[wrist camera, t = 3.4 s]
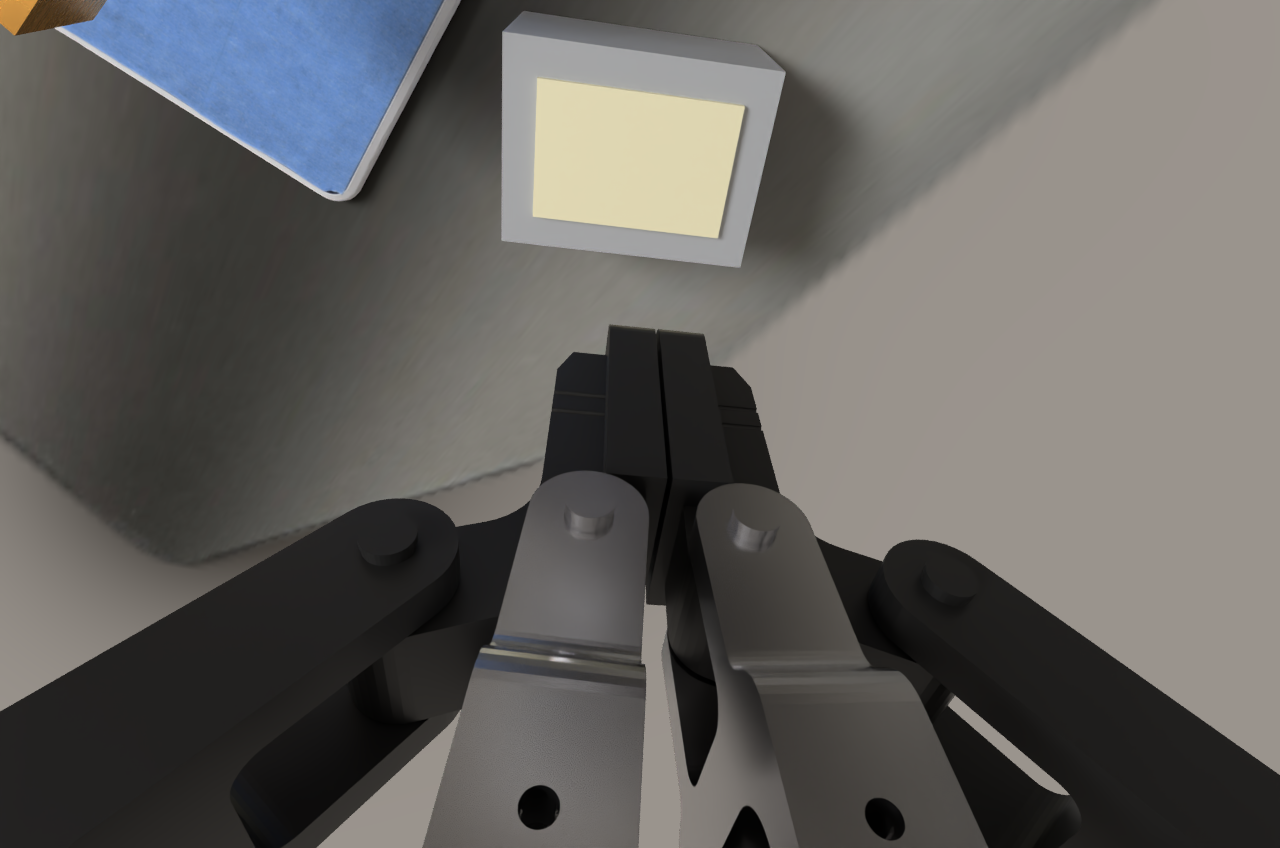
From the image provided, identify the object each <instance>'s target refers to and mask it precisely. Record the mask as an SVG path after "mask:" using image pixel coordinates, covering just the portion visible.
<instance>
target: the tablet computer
mask: <svg viewBox="0 0 1280 848" xmlns="http://www.w3.org/2000/svg"><path fill="white" fill-rule="evenodd" d="M460 1H461V0H107V1H106V2H105V4H104V5H103V7H102V8H101V10H100V11H99V12H98V14H97V15H96V17H95V18H94V20H91V21H86V22H81V23H76V24H71V25H66V26H61V27H56V28H55V29H57V30H58V31H60V32H61V33H63V34H65V35H67V36H68V37H70V38H71V39H73V40H75V41H76V42H78V43H80V44H81V45H82V46H84V47H85V48H87V49H89V50H91V51H92V52H94V53H95V54H97V55H99V56H100V57H102V58H103V59H105V60H106V61H108V62H110V63H111V64H113V65H114V66H116V67H118V68H119V69H121V70H123V71H124V72H126V73H127V74H129V75H130V76H132V77H134V78H135V79H137V80H138V81H140V82H141V83H143V84H145V85H146V86H148V87H150V88H151V89H153V90H155V91H156V92H158V93H159V94H161V95H162V96H164V97H166V98H167V99H169V100H170V101H172V102H174V103H175V104H177V105H179V106H180V107H182V108H183V109H185V110H186V111H188V112H190V113H191V114H193V115H194V116H196V117H198V118H199V119H201V120H202V121H204V122H206V123H207V124H209V125H210V126H212V127H214V128H215V129H217V130H218V131H220V132H222V133H223V134H225V135H226V136H228V137H229V138H231V139H233V140H234V141H236V142H237V143H239V144H241V145H242V146H244V147H245V148H247V149H248V150H250V151H252V152H253V153H255V154H256V155H258V156H260V157H261V158H263V159H264V160H266V161H267V162H269V163H271V164H272V165H274V166H275V167H277V168H279V169H280V170H282V171H283V172H285V173H286V174H288V175H290V176H291V177H293V178H294V179H296V180H298V181H299V182H301V183H302V184H304V185H306V186H307V187H309V188H310V189H312V190H314V191H315V192H317V193H318V194H320V195H322V196H323V197H325V198H327V199H330V200H334V201H345V200H350V199H352V198H353V197H355V196H356V195H357V194H358V193H359V192H360V191H361V189H362V187H363V185H364V183H365V181H366V179H367V177H368V175H369V173H370V172H371V170H372V168H373V166H374V164H375V162H376V160H377V158H378V156H379V154H380V153H381V151H382V149H383V147H384V145H385V143H386V141H387V139H388V137H389V135H390V133H391V132H392V130H393V128H394V126H395V124H396V122H397V120H398V118H399V116H400V115H401V113H402V111H403V109H404V107H405V105H406V103H407V101H408V100H409V98H410V96H411V94H412V92H413V90H414V88H415V86H416V84H417V83H418V81H419V79H420V77H421V75H422V73H423V71H424V69H425V67H426V65H427V64H428V62H429V60H430V58H431V56H432V54H433V52H434V50H435V48H436V46H437V45H438V43H439V41H440V39H441V37H442V35H443V33H444V31H445V30H446V28H447V26H448V24H449V22H450V20H451V18H452V17H453V15H454V13H455V11H456V9H457V7H458V5H459V3H460Z"/></svg>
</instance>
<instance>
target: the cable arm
mask: <svg viewBox="0 0 1280 848" xmlns="http://www.w3.org/2000/svg"><path fill="white" fill-rule="evenodd" d="M106 1H107V0H0V23H1V24H2V25H3V26H4V27H5V28H6V29H8V30H9V31H10V32H11V33H12V34H14V35H20V34H26V33H31V32H36V31H41V30H46V29H51V28H56V27H61V26H66V25H71V24H76V23H81V22H86V21H91V20H94V18H95V17H96V15H97V14H98V12H99V11H100V10H101V8H102V7H103V5H104V4H105V2H106Z"/></svg>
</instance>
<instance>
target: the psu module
mask: <svg viewBox="0 0 1280 848" xmlns="http://www.w3.org/2000/svg"><path fill="white" fill-rule="evenodd" d="M785 74H786V72H785V71H784V70H783V69H782V68H781V67H780V66H779V65H778V64H777V63H776V62H775V61H774V60H773V59H772V58H771V57H770V56H769V55H768V54H766V53H765V52H764V51H763V50H762V49H761V48H760V47H759V46H758V45H754V44H747V43H740V42H733V41H727V40H720V39H713V38H706V37H699V36H692V35H686V34H679V33H672V32H665V31H658V30H651V29H644V28H638V27H631V26H624V25H617V24H610V23H603V22H597V21H590V20H583V19H576V18H569V17H562V16H556V15H549V14H542V13H535V12H528V11H523V12H522V13H521V14H520V15H519V16H518V17H517V18H516V19H515V20H514V21H513V22H512V23H511V24H510V25H509V26H508V27H507V28H506V29H505V30H503V31H502V241H508V242H517V243H526V244H535V245H544V246H553V247H561V248H570V249H579V250H588V251H597V252H605V253H614V254H623V255H632V256H641V257H650V258H658V259H667V260H676V261H685V262H694V263H703V264H711V265H720V266H729V267H738V268H740V266H741V262H742V258H743V253H744V249H745V245H746V241H747V236H748V232H749V228H750V224H751V219H752V215H753V211H754V206H755V202H756V198H757V194H758V189H759V185H760V181H761V177H762V172H763V168H764V164H765V159H766V155H767V151H768V147H769V142H770V138H771V134H772V130H773V125H774V121H775V117H776V112H777V108H778V104H779V100H780V95H781V91H782V87H783V82H784V78H785Z"/></svg>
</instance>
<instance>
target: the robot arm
mask: <svg viewBox="0 0 1280 848" xmlns="http://www.w3.org/2000/svg"><path fill="white" fill-rule="evenodd" d="M756 409H757V408H756V404H755V401H754V397H753V394H752V390H751V387H750V386H749V385H748V384H747V383H746V381H744V379H743V378H742V377H741V376H740V375H739V374H738V373H737V372H736V370H735V369H734V368H731V367H721V366H711V365H710V362H709V357H708V351H707V346H706V341H705V337H704V334H700V333H690V332H680V331H671V330H661V329H658V330H657V333H655V329H650V328H640V327H630V326H621V325H611V324H610V325H609V330H608V337H607V346H606V354H605V355H598V354H588V353H578V352H573V353H572V354H571V355H570V356H569V357H568V358H567V359H566V361H565V362H564V363H563V364H562V365H561V366H560V367H559V368H558V369H557V376H556V383H555V390H554V397H553V404H552V412H551V418H550V425H549V432H548V439H547V447H546V454H545V461H544V468H543V475H542V480H541V484H540V487H539V488H538V489H537V490H536V491H535V493H534V494H533V495H532V498H531V500H530V501H529V502H528V503H527V504H525V506H523V507H522V508H520V509H518V510H517V511H515V512H513V513H511V514H509V515H507V516H504V517H501V518H498V519H496V520H491V521H487V522H482V523H476V524H470V525H464V526H459V527H455V524H454V523H453V521H452V520H451V519H450V517H449V516H448V515H446V514H445V513H444V512H443V511H442V510H440V509H439V508H437V507H435V506H433V505H431V504H428V503H426V502H422V501H418V500H412V499H386V500H379V501H375V502H371V503H368V504H365V505H362V506H359V507H357V508H355V509H353V510H351V511H349V512H347V513H345V514H344V515H342V516H340V517H338V518H337V519H335V520H333V521H331V522H330V523H328V524H326V525H325V526H323V527H321V528H319V529H318V530H316V531H314V532H312V533H311V534H309V535H307V536H305V537H304V538H302V539H300V540H298V541H297V542H295V543H293V544H291V545H290V546H288V547H286V548H285V549H283V550H281V551H279V552H278V553H276V554H274V555H272V556H271V557H269V558H267V559H265V560H264V561H262V562H260V563H258V564H257V565H255V566H253V567H251V568H250V569H248V570H246V571H244V572H243V573H241V574H239V575H237V576H236V577H234V578H232V579H231V580H229V581H227V582H225V583H223V584H222V585H220V586H218V587H216V588H215V589H213V590H211V591H210V592H208V593H206V594H205V595H203V596H201V597H199V598H197V599H196V600H194V601H192V602H190V603H189V604H187V605H185V606H183V607H182V608H180V609H178V610H176V611H175V612H173V613H171V614H169V615H168V616H166V617H164V618H162V619H161V620H159V621H157V622H156V623H154V624H152V625H150V626H149V627H147V628H145V629H144V630H142V631H140V632H138V633H137V634H135V635H133V636H131V637H129V638H128V639H126V640H124V641H122V642H121V643H119V644H117V645H115V646H114V647H112V648H110V649H109V650H107V651H105V652H103V653H101V654H100V655H98V656H97V657H95V658H93V659H91V660H89V661H88V662H86V663H84V664H83V665H81V666H79V667H77V668H75V669H74V670H72V671H70V672H68V673H67V674H65V675H63V676H61V677H60V678H58V679H56V680H54V681H53V682H51V683H49V684H47V685H46V686H44V687H42V688H41V689H39V690H37V691H35V692H34V693H32V694H30V695H28V696H27V697H25V698H23V699H21V700H20V701H18V702H16V703H14V704H13V705H11V706H9V707H7V708H6V709H4V710H2V711H0V848H316V847H317V846H319V845H320V844H321V843H322V842H323V841H324V840H325V839H326V838H327V837H328V836H329V835H330V834H331V833H333V832H334V831H335V830H336V829H337V828H338V827H339V826H340V825H341V824H342V823H343V822H344V821H345V820H347V819H348V818H349V817H350V816H351V815H352V814H353V813H354V812H355V811H356V810H357V809H358V808H360V806H361V805H363V804H364V803H365V802H366V801H367V800H368V799H369V798H370V797H371V796H373V795H374V794H375V793H376V792H377V791H378V790H379V789H380V788H381V787H382V786H383V785H384V784H386V782H388V780H390V779H391V778H392V777H393V776H394V775H395V774H396V773H397V772H398V771H400V770H401V769H402V768H403V767H404V766H405V765H406V764H407V763H408V762H409V761H410V760H411V759H413V758H414V757H415V756H416V755H417V754H418V753H419V752H420V751H421V750H422V749H423V748H424V747H425V746H427V745H428V744H429V743H430V742H431V741H432V740H433V739H434V738H435V737H436V736H437V735H438V734H440V733H441V731H443V730H444V729H445V728H446V727H447V726H448V725H449V724H450V723H451V722H452V721H453V720H454V718H455V717H456V715H457V714H458V712H459V711H460V710H461V709H462V710H461V713H460V717H459V720H458V724H457V727H456V731H455V735H454V738H453V742H452V745H451V749H450V752H449V756H448V759H447V763H446V766H445V770H444V773H443V777H442V780H441V784H440V788H439V791H438V795H437V798H436V802H435V805H434V808H433V812H432V816H431V819H430V823H429V826H428V830H427V834H426V837H425V840H424V844H423V847H422V848H638V843H639V823H640V803H641V783H642V762H643V742H644V721H645V700H646V668H645V664H642V663H641V651H642V632H643V615H644V598H645V585H646V603H647V604H649V605H650V604H651V605H666V613H667V631H666V635H665V639H664V643H663V647H662V665H663V672H664V680H665V687H666V694H667V701H668V709H669V716H670V723H671V730H672V737H673V745H674V752H675V760H676V766H677V774H678V781H679V789H680V801H681V821H680V833H679V848H1280V775H1279V774H1277V773H1276V772H1274V771H1273V770H1272V769H1270V768H1269V767H1268V766H1266V765H1265V764H1263V763H1262V762H1260V761H1259V760H1258V759H1256V758H1255V757H1253V756H1252V755H1251V754H1249V753H1248V752H1246V751H1245V750H1244V749H1242V748H1241V747H1239V746H1238V745H1236V744H1235V743H1234V742H1232V741H1231V740H1229V739H1228V738H1227V737H1225V736H1224V735H1222V734H1221V733H1219V732H1218V731H1217V730H1215V729H1214V728H1212V727H1211V726H1209V725H1208V724H1207V723H1205V722H1204V721H1202V720H1201V719H1200V718H1198V717H1197V716H1195V715H1194V714H1193V713H1191V712H1190V711H1188V710H1187V709H1186V708H1184V707H1183V706H1181V705H1180V704H1179V703H1177V702H1176V701H1174V700H1173V699H1171V698H1170V697H1169V696H1167V695H1166V694H1164V693H1163V692H1162V691H1160V690H1159V689H1157V688H1156V687H1154V686H1153V685H1152V684H1150V683H1149V682H1147V681H1146V680H1144V679H1143V678H1142V677H1140V676H1139V675H1138V674H1136V673H1135V672H1133V671H1132V670H1131V669H1129V668H1128V667H1126V666H1125V665H1123V664H1122V663H1120V662H1119V661H1118V660H1116V659H1115V658H1113V657H1112V656H1111V655H1109V654H1108V653H1106V652H1105V651H1104V650H1102V649H1100V648H1099V647H1098V646H1097V645H1095V644H1094V643H1092V642H1091V641H1090V640H1088V639H1087V638H1085V637H1084V636H1082V635H1081V634H1080V633H1078V632H1077V631H1075V630H1074V629H1072V628H1071V627H1070V626H1068V625H1067V624H1066V623H1064V622H1063V621H1061V620H1060V619H1058V618H1057V617H1056V616H1054V615H1053V614H1051V613H1050V612H1049V611H1047V610H1046V609H1044V608H1043V607H1041V606H1040V605H1039V604H1037V603H1036V602H1034V601H1033V600H1032V599H1030V598H1029V597H1027V596H1026V595H1025V594H1023V593H1022V592H1020V591H1019V590H1017V589H1016V588H1014V587H1013V586H1012V585H1010V584H1009V583H1008V582H1006V581H1005V580H1003V579H1002V578H1001V577H999V576H998V575H996V574H995V573H993V572H992V571H990V570H989V569H988V568H986V567H985V566H984V565H982V564H981V563H979V562H978V561H976V560H975V559H973V558H972V557H970V556H969V555H967V554H966V553H963V552H962V551H960V550H958V549H955V548H953V547H951V546H948V545H945V544H942V543H938V542H935V541H928V540H909V541H905V542H901V543H899V544H897V545H895V546H893V547H892V549H890V550H889V551H888V553H887V555H886V556H885V558H884V560H883V562H882V561H879V560H876V559H873V558H870V557H867V556H864V555H861V554H858V553H855V552H852V551H848V550H845V549H842V548H839V547H837V546H834V545H832V544H829V543H827V542H825V541H823V540H821V539H819V538H817V537H816V536H815V535H814V533H813V530H812V528H811V525H810V523H809V521H808V519H807V517H806V516H805V515H804V513H803V512H802V511H801V510H800V509H799V508H798V507H797V506H796V505H795V504H794V503H793V502H792V501H790V500H789V499H788V498H786V497H784V496H783V495H781V494H780V492H779V488H778V485H777V481H776V478H775V474H774V470H773V466H772V463H771V459H770V455H769V452H768V448H767V444H766V441H765V437H764V434H763V431H761V423H760V420H759V415H758V413H756ZM955 695H956V696H957V697H958V698H959V699H960V700H961V701H963V702H964V703H965V704H966V705H967V706H969V707H970V708H971V709H972V710H973V711H974V712H976V713H977V714H978V715H979V716H980V717H982V718H983V719H984V720H985V721H986V722H987V723H988V724H990V725H991V726H992V727H993V728H994V729H996V730H997V731H998V732H999V733H1000V734H1001V735H1003V736H1004V737H1005V738H1006V739H1007V740H1008V741H1010V742H1011V743H1012V744H1013V745H1014V746H1016V747H1017V748H1018V749H1019V750H1020V751H1021V752H1023V753H1024V754H1025V755H1026V756H1028V758H1030V759H1031V760H1032V761H1033V762H1034V763H1036V764H1037V765H1038V766H1039V767H1040V768H1042V769H1043V770H1044V771H1045V772H1046V773H1047V774H1048V775H1050V776H1051V777H1052V778H1053V779H1054V780H1056V781H1057V782H1058V783H1059V784H1060V785H1061V786H1062V787H1063V788H1064V789H1065V790H1066V791H1067V792H1068V793H1069V794H1070V795H1061V794H1057V793H1054V792H1051V791H1049V790H1047V789H1045V788H1044V787H1042V786H1040V785H1039V784H1038V783H1036V782H1035V781H1034V780H1033V779H1032V778H1030V777H1029V776H1028V775H1027V774H1026V773H1025V772H1023V771H1022V770H1021V769H1020V768H1019V767H1018V766H1016V765H1015V764H1014V763H1013V762H1012V761H1011V760H1010V759H1008V758H1007V757H1006V756H1005V755H1003V753H1001V752H1000V751H999V750H998V749H997V748H996V747H995V746H993V745H992V744H991V743H990V742H988V741H987V740H986V739H985V738H984V737H983V736H982V735H981V734H980V733H978V732H977V731H976V730H975V729H974V728H972V727H971V726H970V725H969V724H968V723H967V722H966V721H965V720H963V719H962V718H961V717H960V716H959V715H958V714H956V713H955V712H954V711H953V710H952V709H951V708H950V707H948V704H949V703H950V701H951V700H952V699H953V698H954V696H955Z"/></svg>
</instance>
